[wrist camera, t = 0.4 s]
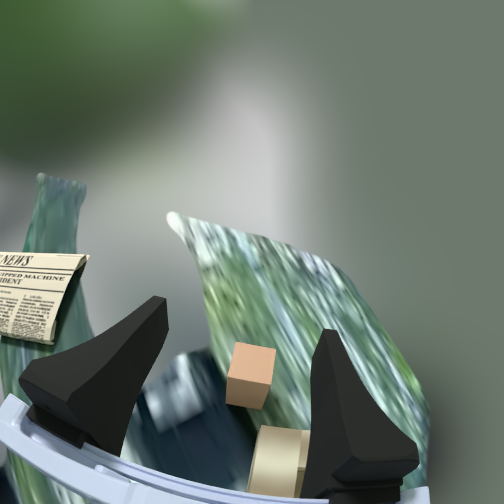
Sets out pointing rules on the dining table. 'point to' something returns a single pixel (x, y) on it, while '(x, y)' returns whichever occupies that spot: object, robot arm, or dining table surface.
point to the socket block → (279, 462)
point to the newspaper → (34, 292)
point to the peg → (250, 375)
